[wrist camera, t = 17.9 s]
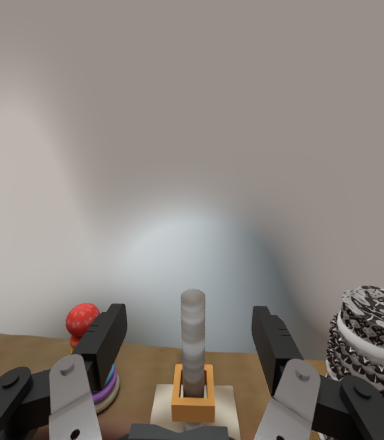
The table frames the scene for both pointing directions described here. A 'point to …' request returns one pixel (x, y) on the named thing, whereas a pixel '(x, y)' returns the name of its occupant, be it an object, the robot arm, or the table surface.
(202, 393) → the post stand
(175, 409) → the collar
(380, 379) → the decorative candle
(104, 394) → the stacking toy
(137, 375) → the table surface
